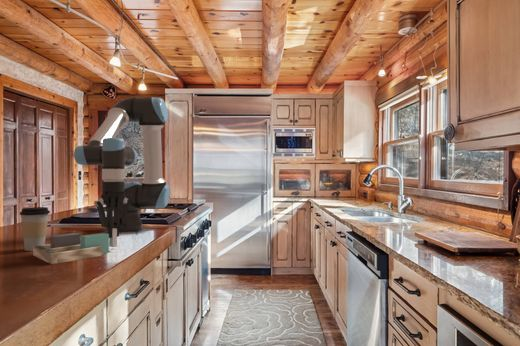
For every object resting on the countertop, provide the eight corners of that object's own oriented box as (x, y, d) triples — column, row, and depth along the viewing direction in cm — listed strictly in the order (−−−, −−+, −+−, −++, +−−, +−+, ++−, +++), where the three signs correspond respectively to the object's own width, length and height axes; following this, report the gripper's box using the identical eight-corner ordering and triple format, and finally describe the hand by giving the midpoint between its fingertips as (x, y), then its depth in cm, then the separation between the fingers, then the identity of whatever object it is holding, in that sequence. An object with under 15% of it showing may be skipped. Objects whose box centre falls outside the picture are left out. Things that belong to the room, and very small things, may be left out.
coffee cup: (24, 247, 129) (24, 207, 129) (52, 245, 132) (53, 206, 132) (14, 252, 120) (15, 209, 120) (45, 251, 123) (46, 209, 123)
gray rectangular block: (75, 250, 125) (75, 232, 125) (79, 252, 122) (80, 234, 122) (50, 254, 119) (50, 235, 119) (54, 256, 116) (55, 237, 116)
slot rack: (80, 248, 129) (80, 239, 129) (102, 255, 117) (102, 245, 117) (32, 255, 117) (33, 245, 117) (51, 264, 105) (51, 253, 106)
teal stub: (103, 250, 124) (103, 232, 124) (108, 252, 122) (108, 234, 122) (80, 254, 118) (80, 235, 118) (85, 256, 116) (85, 237, 116)
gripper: (125, 180, 132) (124, 242, 132) (90, 181, 122) (89, 247, 122) (135, 180, 127) (135, 245, 127) (100, 181, 117) (99, 250, 117)
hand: (112, 246), depth 125 cm, fingers closed
